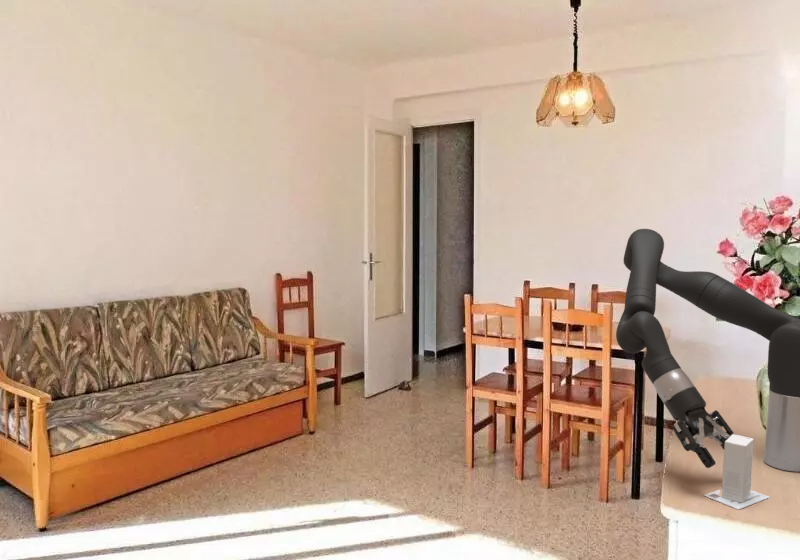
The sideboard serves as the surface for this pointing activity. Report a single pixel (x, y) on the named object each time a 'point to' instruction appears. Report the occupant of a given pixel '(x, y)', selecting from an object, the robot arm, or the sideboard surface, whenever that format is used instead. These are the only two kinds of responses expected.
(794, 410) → the robot arm
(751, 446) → the skincare box
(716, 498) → the letter
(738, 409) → the sideboard surface
